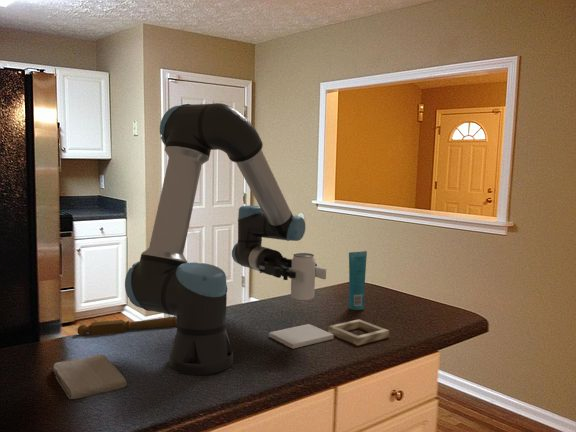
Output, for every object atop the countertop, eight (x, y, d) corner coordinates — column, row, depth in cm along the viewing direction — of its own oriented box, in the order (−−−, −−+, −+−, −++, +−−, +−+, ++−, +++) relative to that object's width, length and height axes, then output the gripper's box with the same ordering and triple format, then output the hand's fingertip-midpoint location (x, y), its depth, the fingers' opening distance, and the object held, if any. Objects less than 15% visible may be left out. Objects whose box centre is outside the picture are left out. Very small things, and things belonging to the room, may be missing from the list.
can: (312, 301, 139) (313, 257, 138) (288, 300, 140) (289, 256, 139) (315, 295, 145) (317, 253, 144) (293, 293, 146) (294, 252, 145)
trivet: (292, 348, 135) (292, 344, 135) (269, 336, 144) (269, 332, 144) (333, 338, 143) (333, 334, 143) (308, 327, 152) (308, 323, 152)
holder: (357, 345, 139) (357, 338, 138) (328, 332, 148) (328, 326, 148) (388, 337, 146) (389, 330, 145) (358, 325, 155) (359, 319, 155)
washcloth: (102, 362, 125) (102, 349, 125) (129, 389, 111) (129, 375, 111) (49, 373, 118) (49, 360, 118) (70, 403, 104) (70, 389, 103)
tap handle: (188, 316, 152) (77, 327, 140) (188, 327, 152) (77, 338, 140) (186, 314, 154) (77, 323, 143) (186, 324, 155) (77, 334, 143)
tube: (358, 304, 178) (361, 249, 176) (369, 308, 174) (371, 251, 172) (342, 308, 173) (345, 251, 171) (353, 311, 169) (355, 253, 167)
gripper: (292, 269, 162) (341, 285, 144) (238, 276, 151) (285, 294, 132) (292, 245, 161) (342, 258, 143) (239, 251, 150) (285, 265, 132)
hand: (314, 275), depth 138 cm, fingers closed on can, 6 cm apart
